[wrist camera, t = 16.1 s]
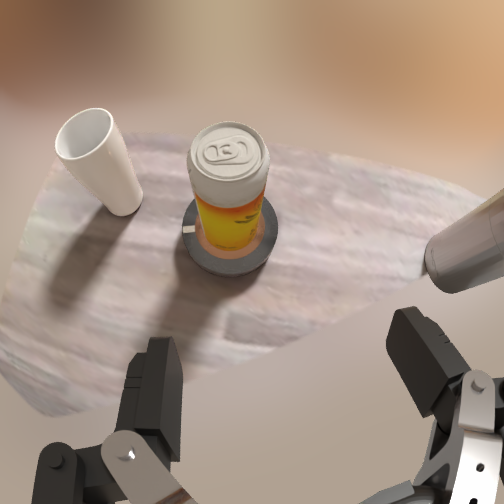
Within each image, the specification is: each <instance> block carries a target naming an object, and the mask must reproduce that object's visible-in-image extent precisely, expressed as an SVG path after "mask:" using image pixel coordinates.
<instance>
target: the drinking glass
mask: <svg viewBox="0 0 504 504" xmlns="http://www.w3.org/2000/svg"><path fill="white" fill-rule="evenodd" d="M55 152H56V154H57V156H58V157H59V159H60V160H61V162H62V163H63V165H64V166H65V167H66V169H67V170H68V171H69V172H70V173H71V174H72V176H73V177H74V178H75V179H76V180H77V181H78V182H79V183H80V184H82V185H83V186H84V187H85V188H86V189H87V190H88V191H89V192H90V193H91V194H93V195H94V196H95V197H96V198H97V199H98V200H99V201H100V202H101V203H103V204H104V205H105V206H106V207H107V208H108V210H109V211H110V212H111V213H113V214H114V215H117V216H127V215H129V214H131V213H133V212H134V211H136V210H137V209H138V207H139V206H140V204H141V202H142V199H143V191H142V188H141V186H140V184H139V182H138V180H137V177H136V174H135V171H134V168H133V166H132V163H131V160H130V157H129V154H128V151H127V148H126V145H125V142H124V139H123V137H122V135H121V132H120V130H119V128H118V126H117V124H116V123H115V121H114V119H113V117H112V115H111V114H110V113H109V112H108V111H107V110H105V109H101V108H91V109H87V110H84V111H82V112H79V113H78V114H76V115H74V116H73V117H72V118H70V119H69V120H68V121H67V122H66V123H65V124H64V125H63V126H62V128H61V129H60V131H59V132H58V134H57V137H56V140H55Z"/></svg>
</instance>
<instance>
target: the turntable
mask: <svg viewBox="0 0 504 504" xmlns="http://www.w3.org/2000/svg"><path fill="white" fill-rule="evenodd" d="M182 234H183V239H184V242H185V245H186V247H187V249H188V252H189V253H190V255H191V257H192V258H193V259H194V261H195V262H196V263H197V264H198V265H199V266H200V267H202V268H203V269H204V270H206V271H208V272H210V273H212V274H215V275H219V276H225V277H235V276H241V275H245V274H247V273H250V272H252V271H254V270H255V269H257V268H258V267H260V266H261V265H262V264H263V263H264V262H265V261H266V260H267V258H268V257H269V256H270V254H271V252H272V250H273V247H274V245H275V242H276V239H277V234H278V222H277V217H276V214H275V211H274V209H273V207H272V206H271V204H270V203H269V201H268V200H267V199H266V198H265V197H264V196H263V202H262V207H261V212H260V217H259V222H258V228H257V232H256V235H255V237H254V239H253V240H252V241H251V243H250V244H248V245H247V246H246V247H244V248H242V249H240V250H237V251H223V250H220V249H217V248H215V247H214V246H212V245H211V244H210V243H209V242H208V241H207V239H206V237H205V235H204V233H203V229H202V225H201V221H200V217H199V213H198V209H197V205H196V201H195V199H194V200H193V201H192V202H191V203H190V205H189V206H188V208H187V210H186V212H185V215H184V218H183V223H182Z"/></svg>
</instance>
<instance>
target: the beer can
mask: <svg viewBox="0 0 504 504" xmlns="http://www.w3.org/2000/svg"><path fill="white" fill-rule="evenodd" d="M269 165H270V156H269V152H268V149H267V147H266V145H265V143H264V141H263V139H262V137H261V136H260V135H259V133H258V132H257V131H256V130H254V129H253V128H251V127H249V126H247V125H245V124H242V123H238V122H220V123H216V124H213V125H210V126H208V127H206V128H205V129H203V130H202V131H201V132H200V133H199V134H198V135H197V136H196V137H195V139H194V140H193V142H192V145H191V147H190V149H189V152H188V155H187V169H188V173H189V177H190V181H191V185H192V189H193V193H194V197H195V201H196V205H197V209H198V213H199V217H200V221H201V225H202V229H203V233H204V235H205V237H206V239H207V241H208V242H209V243H210V244H211V245H212V246H214V247H215V248H217V249H220V250H223V251H237V250H240V249H242V248H244V247H246V246H247V245H248V244H250V243H251V241H252V240H253V239H254V237H255V235H256V232H257V228H258V222H259V217H260V212H261V207H262V202H263V196H264V191H265V186H266V181H267V176H268V170H269Z"/></svg>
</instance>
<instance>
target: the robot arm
mask: <svg viewBox="0 0 504 504" xmlns="http://www.w3.org/2000/svg"><path fill="white" fill-rule="evenodd" d="M425 262H426V268H427V271H428V274H429V276H430V278H431V280H432V281H433V283H434V284H435V285H436V286H437V287H438V288H439V289H440V290H442V291H443V292H446V293H451V294H453V293H457V292H460V291H463V290H466V289H469V288H473V287H475V286H478V285H481V284H484V283H487V282H489V281H492V280H495V279H498V278H500V277H503V276H504V188H503V189H502V190H501V191H500V192H498V193H497V194H496V195H494V196H493V197H492V198H490V199H488V200H487V201H486V202H484V203H483V204H481V205H480V206H479V207H477V208H476V209H474V210H473V211H471V212H470V213H468V214H467V215H465V216H464V217H462V218H461V219H459V220H458V221H457V222H455V223H453V224H452V225H450V226H449V227H447V228H446V229H444V230H443V231H441V232H440V233H438V234H437V235H435V236H434V237H432V238H431V240H430V241H429V242H428V245H427V247H426V252H425ZM386 349H387V352H388V355H389V356H390V358H391V360H392V362H393V364H394V365H395V367H396V369H397V371H398V372H399V374H400V376H401V378H402V380H403V382H404V383H405V385H406V387H407V389H408V391H409V393H410V395H411V396H412V398H413V400H414V402H415V404H416V406H417V408H418V410H419V412H420V413H421V415H422V417H423V418H425V417H428V416H430V415H432V414H434V416H435V420H434V422H433V425H432V430H431V434H430V439H429V443H428V447H427V451H426V455H425V459H424V462H423V465H422V467H421V469H420V471H419V472H418V474H417V475H416V477H415V479H414V482H413V485H412V484H411V482H410V480H408V481H406V482H403V483H401V484H398V485H396V486H393V487H391V488H387V489H385V490H382V491H379V492H378V493H376V494H374V495H373V496H371V497H370V498H368V499H366V500H364V501H363V502H361V503H359V504H494V502H495V497H496V491H497V486H498V479H499V475H500V477H501V480H502V482H503V485H504V377H503V378H494V379H492V378H491V377H490V376H489V375H488V374H487V373H485V372H483V371H480V370H471V369H470V367H469V366H468V364H467V363H466V361H465V360H464V359H463V357H462V356H461V354H460V353H459V352H458V350H457V349H456V348H455V346H454V345H453V344H452V343H450V340H449V338H448V337H447V336H446V335H445V333H444V332H443V330H442V329H441V328H440V327H439V325H438V324H437V323H435V322H434V321H432V320H431V319H429V318H428V317H424V316H423V314H422V313H421V312H420V311H419V309H417V307H415V306H412V307H407V308H403V309H398V310H396V311H395V313H394V316H393V320H392V323H391V326H390V329H389V333H388V336H387V339H386ZM182 389H183V373H182V367H181V363H180V360H179V357H178V353H177V350H176V346H175V343H174V340H173V337H172V336H170V337H151V338H150V339H149V343H148V348H147V353H137V354H136V355H135V356H134V358H133V359H132V360H131V362H130V363H129V366H128V370H127V374H126V379H125V383H124V390H123V393H122V398H121V402H120V407H119V413H118V418H117V423H116V428H115V430H114V432H113V433H112V434H111V435H109V436H108V437H107V438H106V439H105V441H104V442H103V443H102V444H100V445H97V446H93V447H88V448H82V449H76V450H73V449H72V448H71V447H70V446H69V445H67V444H65V443H62V442H54V443H51V444H49V445H47V446H46V447H45V448H44V449H43V450H42V451H41V453H40V456H39V460H38V465H37V470H36V476H35V482H34V489H33V496H32V503H31V504H115V502H117V501H122V500H129V501H130V503H131V504H198V503H197V502H196V501H195V500H194V499H193V498H192V497H191V496H190V495H189V494H188V493H187V492H186V491H185V489H183V487H182V486H181V485H180V484H179V483H178V482H177V480H176V479H175V478H174V477H173V476H172V475H171V474H170V462H180V435H181V408H182Z"/></svg>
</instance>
